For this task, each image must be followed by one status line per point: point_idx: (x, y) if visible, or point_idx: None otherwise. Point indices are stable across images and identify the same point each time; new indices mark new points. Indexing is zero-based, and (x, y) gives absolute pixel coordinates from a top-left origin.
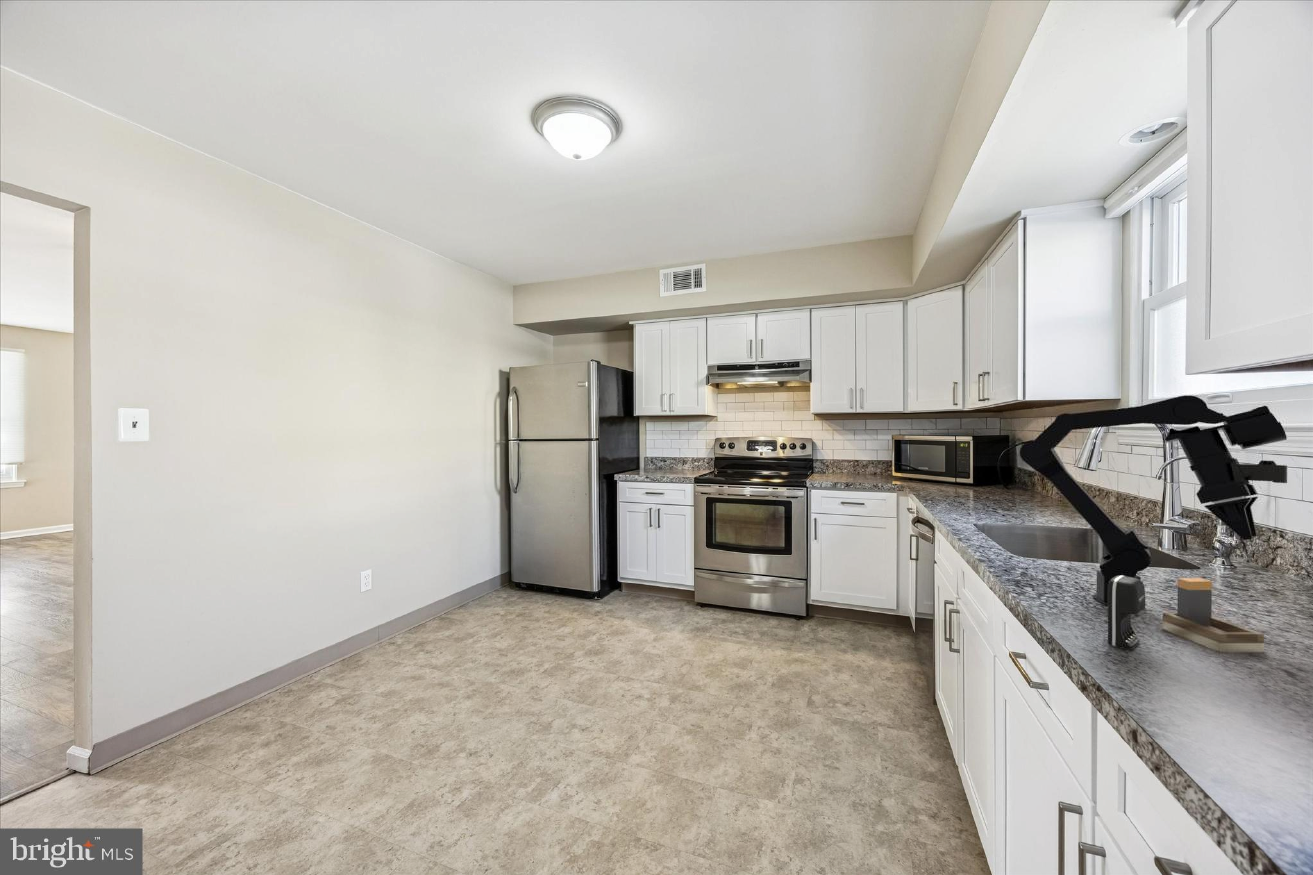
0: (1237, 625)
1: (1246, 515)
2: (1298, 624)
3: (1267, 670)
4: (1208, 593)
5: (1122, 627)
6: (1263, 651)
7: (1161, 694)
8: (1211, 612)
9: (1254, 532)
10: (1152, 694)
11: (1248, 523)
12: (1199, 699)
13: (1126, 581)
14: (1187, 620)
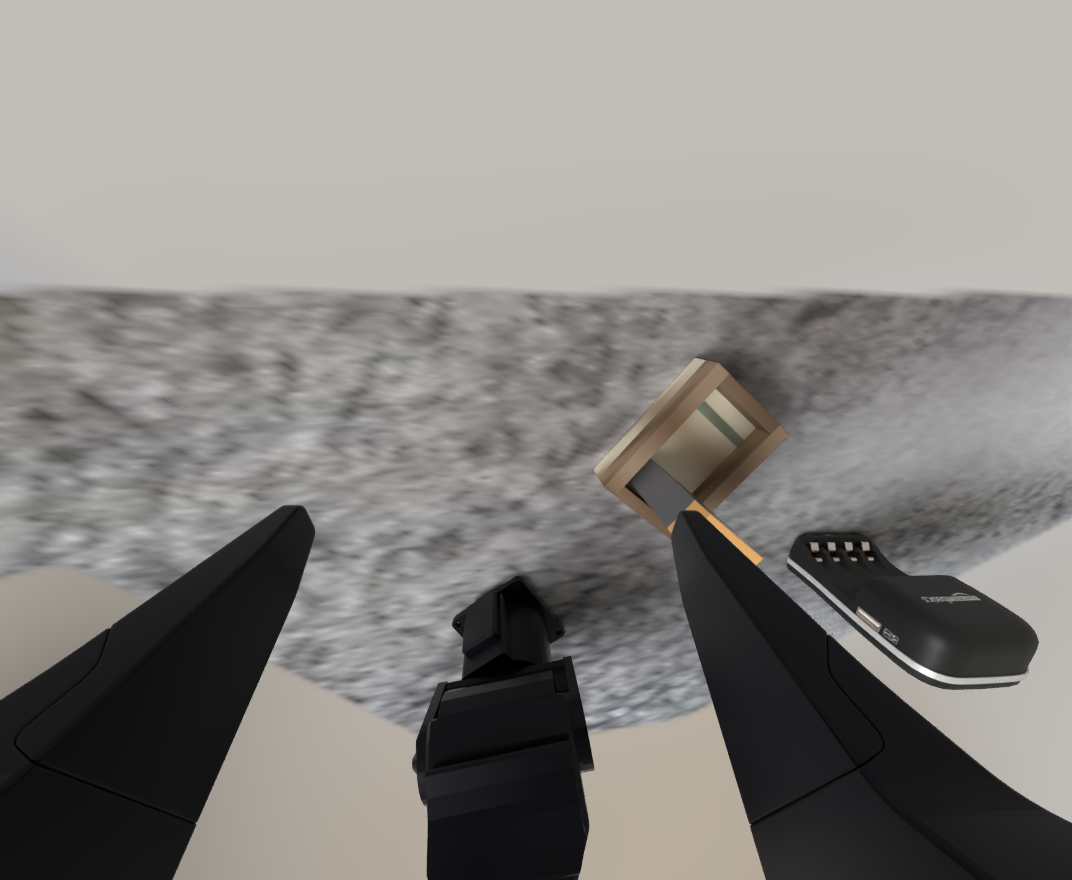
0: (676, 413)
1: (828, 682)
2: (326, 300)
3: (823, 346)
4: (696, 500)
5: (888, 572)
6: (696, 358)
7: (1056, 461)
8: (662, 469)
9: (290, 525)
10: (1063, 470)
11: (762, 601)
12: (1050, 418)
13: (1025, 658)
14: (714, 498)
